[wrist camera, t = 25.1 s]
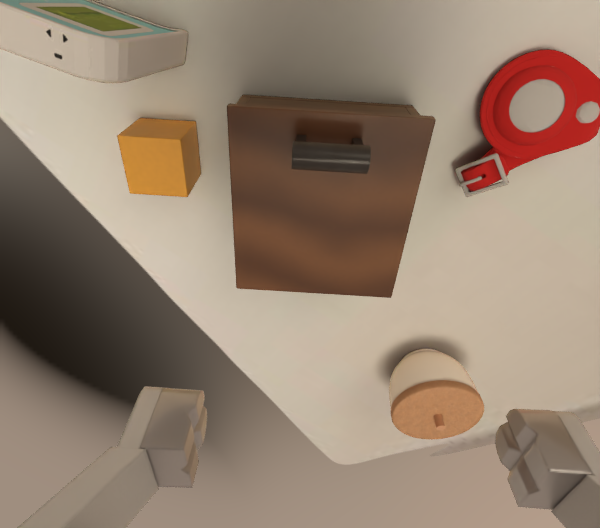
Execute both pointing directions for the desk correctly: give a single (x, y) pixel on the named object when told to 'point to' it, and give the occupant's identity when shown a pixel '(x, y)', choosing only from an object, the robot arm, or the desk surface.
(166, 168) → the block
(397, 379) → the trinket box
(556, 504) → the robot arm
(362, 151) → the lid
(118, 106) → the desk surface
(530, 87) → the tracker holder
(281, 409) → the desk surface
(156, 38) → the handheld gaming console
